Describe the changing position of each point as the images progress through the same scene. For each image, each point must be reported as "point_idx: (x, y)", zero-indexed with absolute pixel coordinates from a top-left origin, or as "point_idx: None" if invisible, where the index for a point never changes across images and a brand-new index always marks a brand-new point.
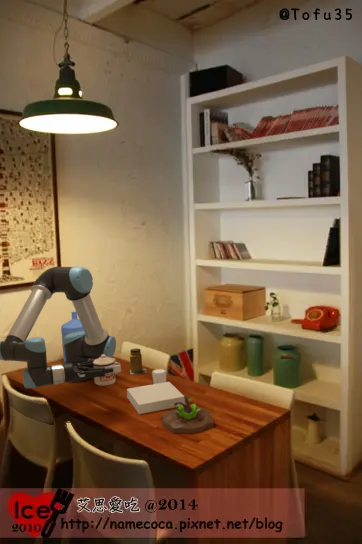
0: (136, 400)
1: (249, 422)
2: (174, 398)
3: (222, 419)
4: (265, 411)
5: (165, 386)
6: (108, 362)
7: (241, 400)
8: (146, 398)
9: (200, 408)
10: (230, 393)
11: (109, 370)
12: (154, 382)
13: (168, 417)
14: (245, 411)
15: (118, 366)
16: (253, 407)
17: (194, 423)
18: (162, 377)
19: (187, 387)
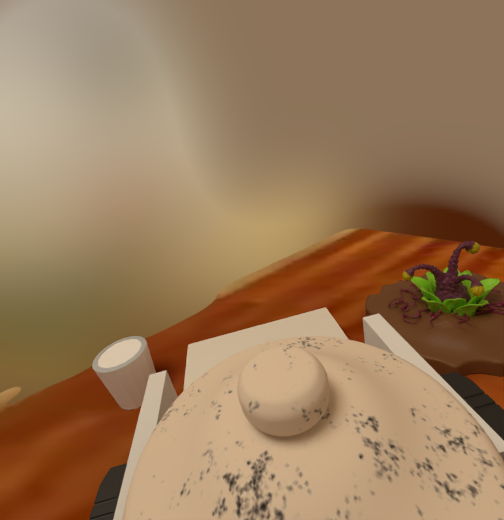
0: None
1: (425, 249)
2: (338, 325)
3: (418, 274)
4: (370, 240)
5: (225, 350)
6: (410, 369)
7: (315, 261)
8: None
9: (393, 287)
10: (274, 273)
11: (497, 416)
12: (134, 395)
13: (485, 341)
14: (370, 255)
15: (389, 333)
16: (351, 250)
17: (502, 292)
18: (150, 357)
19: (203, 331)
